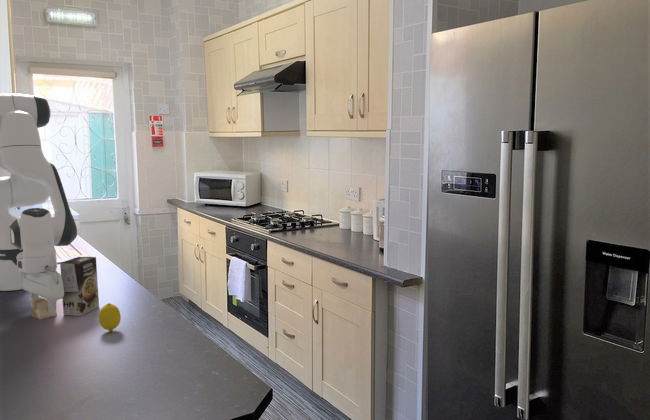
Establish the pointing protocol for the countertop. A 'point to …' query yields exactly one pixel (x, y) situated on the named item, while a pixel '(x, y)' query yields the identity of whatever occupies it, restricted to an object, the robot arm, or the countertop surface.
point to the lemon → (109, 317)
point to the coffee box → (79, 285)
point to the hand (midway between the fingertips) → (43, 309)
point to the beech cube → (41, 308)
